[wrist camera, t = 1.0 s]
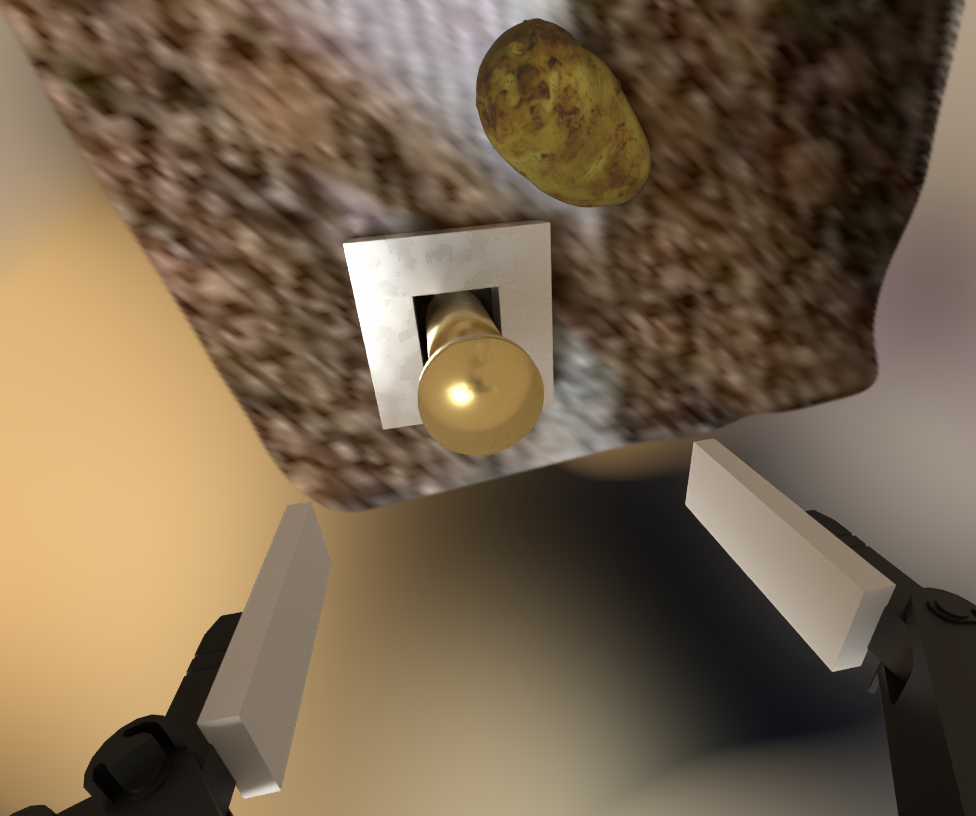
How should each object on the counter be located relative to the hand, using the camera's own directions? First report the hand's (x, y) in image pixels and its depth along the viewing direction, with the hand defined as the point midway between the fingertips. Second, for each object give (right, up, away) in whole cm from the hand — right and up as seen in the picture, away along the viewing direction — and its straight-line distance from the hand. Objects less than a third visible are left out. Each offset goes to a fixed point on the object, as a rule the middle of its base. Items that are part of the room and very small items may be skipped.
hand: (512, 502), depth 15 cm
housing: (-4, +11, +21) cm, 24 cm away
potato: (+4, +23, +17) cm, 28 cm away
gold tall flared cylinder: (-4, +11, +21) cm, 24 cm away
